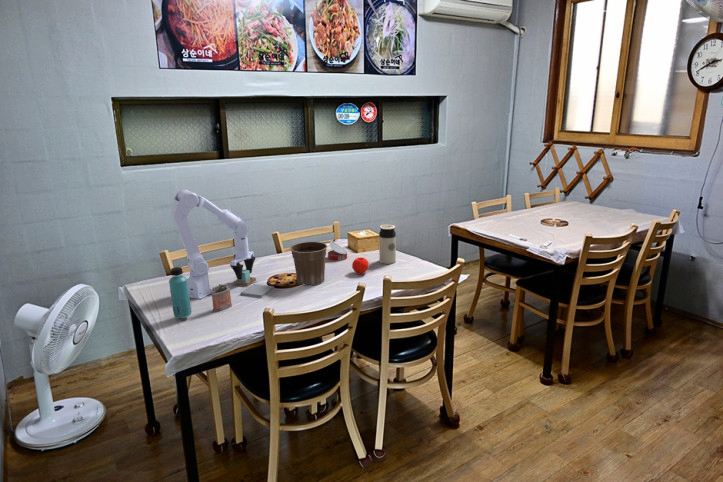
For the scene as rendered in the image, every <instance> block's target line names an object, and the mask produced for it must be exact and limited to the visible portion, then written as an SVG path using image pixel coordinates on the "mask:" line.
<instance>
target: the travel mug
mask: <svg viewBox="0 0 723 482" xmlns="http://www.w3.org/2000/svg"><path fill="white" fill-rule="evenodd" d="M395 228H396V225H394V224H381V225H380V226H379V229H380V231H379V235H378V236H379V237H378V239H379V240H378V241H379V242H378V243H379V244H378V245H379V253H378V254H379V262H380V263H382V264H385V265H391V264H394V263H395V262H396V259H397V257H396V256H397V255H396V253H397V252H396V251H397V250H396V247H397V245H396V243H397V239H396V238H397V237H396V235H397V232H396V230H395Z"/></svg>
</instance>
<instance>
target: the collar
mask: <svg viewBox="0 0 723 482" xmlns="http://www.w3.org/2000/svg"><path fill="white" fill-rule="evenodd" d="M255 282H257V277H253V276H250V280H249V281H248V282H240V281H239V279H237V278H236V279H235V280H234V281H233V285H234V286H241V287H250V286H251V285H253V284H255Z"/></svg>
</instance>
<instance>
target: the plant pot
mask: <svg viewBox="0 0 723 482" xmlns="http://www.w3.org/2000/svg"><path fill="white" fill-rule="evenodd" d="M327 248H328V244H326V243H324V242H321V241H302V242H299V243H295V244H292V245H291V246H290V248H289V250H290V252H291V255H292V258H293V263H294V269H295V275H296V282H297V283H298V285H301V286H302V285H304V286H306V287H307V286H310V287H311V286H316V285H320V284H322V283H323V282H325V275H326V274H325V271H326V255H327Z"/></svg>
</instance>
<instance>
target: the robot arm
mask: <svg viewBox="0 0 723 482" xmlns="http://www.w3.org/2000/svg"><path fill="white" fill-rule="evenodd" d="M173 201H174V202H173V207H172V211H171V212H172V213H171V215H172V218H173V221H174V223H175V227H176V229H177V232H178V233H179V237H180V239H181V242H182V244H183V246H184V247H183V248H184V249H185V252H186V258H187V263H186V264H187V267H188V268H189V269H190V271H189V276H188V278H187V286H188V293H189V298H192V299H199V300H202V299H204V298H205V297H207V296H208V295H211V293H212V292H214V291H213V289H211V287H210V279H209V278H210V277H209V270H210V269H209V267H210V266H209V263H208V262H207V261H206V260H205V259H204V257H203V255H202V253H201V251H200V249H199V246H198V245H197V242H196V241H197V240H196V239H195V235H194V233H193V230H192V227H191V225H190V223H189V219H188V215H189V214H190V212H191V211H192V210H193V209H194V208H195V207H197V208H204V209H205V210H207V211H208V212H210V213H211V214H213V215H215V216H216V217H217V221H218V222H219V223H222V225H225V226H226V227H228V228H229V229H231V231H233V233H232V234H233V241H234V243H233V244H234V250H235V257H234V258H233V259H232V260H230V264H229V265H230V266H229V267H231V269H232V270H233V272H234V274H235V277H236V280H237V279H242V270H244V265H245V270H250V274H252V272H253V268H254V263H255V261H256V256H255V254H254V253H255V252H254V251H253V250H250V249H249V240H248V231H249V230H250V229H249V228H250V226H249V225H248V223H247V222H246V221H244V220H242V219H241V217H240V216H237V215H235V214H234V213H232V212H233V211H232V210H231V209H226V208H225V209H220V207H218V206H217V205H215V204H214V203H213V202H211V201H210V200H208V199H207V198H205V197H203V196H201V195H199V194H197V193H195V192H194V191H193V192H192V191H191V190H190V189H186V188H182V189H180V190H179V191H178V192H177V193H176V195H175V196H174V197H173ZM241 262H243V263H244V264H241Z"/></svg>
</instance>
